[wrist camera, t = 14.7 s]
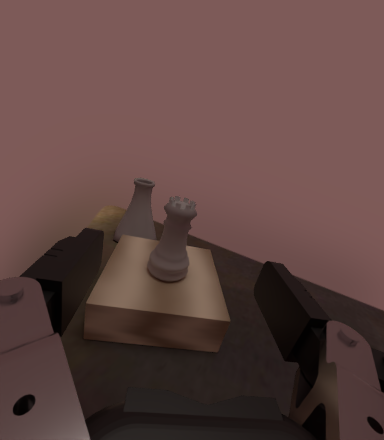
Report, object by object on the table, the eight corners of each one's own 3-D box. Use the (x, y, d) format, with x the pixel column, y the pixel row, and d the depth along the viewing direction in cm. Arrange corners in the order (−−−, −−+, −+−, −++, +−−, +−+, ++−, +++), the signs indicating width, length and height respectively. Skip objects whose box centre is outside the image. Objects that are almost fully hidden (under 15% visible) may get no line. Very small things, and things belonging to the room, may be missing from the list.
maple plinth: (202, 273, 31) (210, 250, 29) (217, 352, 20) (230, 321, 18) (119, 259, 29) (122, 234, 27) (83, 338, 18) (85, 303, 16)
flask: (150, 254, 32) (162, 192, 28) (104, 242, 32) (111, 178, 28) (161, 234, 39) (171, 182, 35) (123, 224, 39) (130, 171, 35)
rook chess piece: (137, 270, 22) (149, 196, 19) (162, 253, 25) (175, 191, 22) (173, 290, 20) (192, 214, 17) (194, 270, 24) (212, 204, 21)
